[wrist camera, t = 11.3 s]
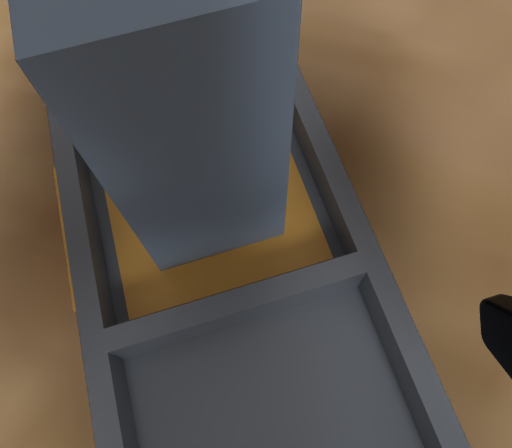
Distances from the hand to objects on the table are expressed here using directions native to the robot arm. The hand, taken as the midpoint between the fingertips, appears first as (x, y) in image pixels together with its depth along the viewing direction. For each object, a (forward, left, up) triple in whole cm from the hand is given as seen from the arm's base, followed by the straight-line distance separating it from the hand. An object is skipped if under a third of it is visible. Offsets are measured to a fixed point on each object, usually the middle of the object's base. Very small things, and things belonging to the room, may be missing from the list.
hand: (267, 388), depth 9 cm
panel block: (+3, +7, -7) cm, 11 cm away
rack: (+3, +7, -8) cm, 12 cm away
